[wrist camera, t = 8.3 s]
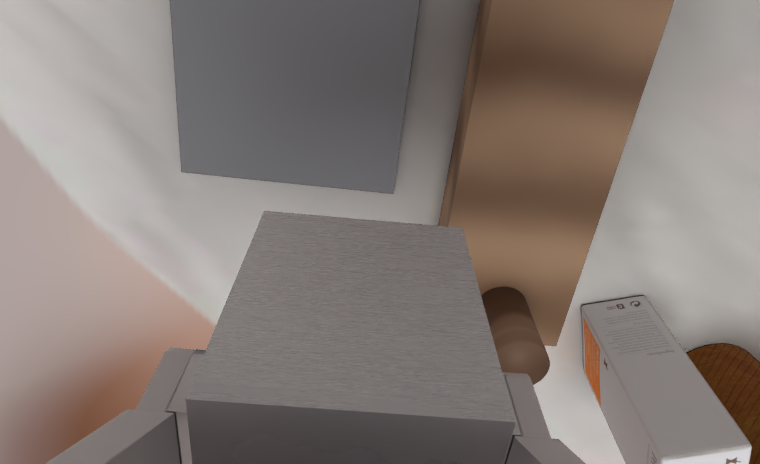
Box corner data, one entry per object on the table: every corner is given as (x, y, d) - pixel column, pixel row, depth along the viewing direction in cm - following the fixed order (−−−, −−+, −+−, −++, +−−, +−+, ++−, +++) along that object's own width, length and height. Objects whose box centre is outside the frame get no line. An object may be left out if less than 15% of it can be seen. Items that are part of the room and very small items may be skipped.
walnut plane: (485, -32, 26) (524, -19, 19) (646, -11, 27) (742, 8, 20) (423, 305, 36) (434, 396, 29) (543, 316, 36) (582, 408, 29)
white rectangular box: (264, 210, 11) (186, 398, 6) (462, 228, 11) (515, 422, 7) (265, 422, 14) (212, 651, 9) (423, 433, 14) (442, 663, 10)
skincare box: (578, 304, 36) (660, 457, 25) (644, 292, 35) (757, 444, 25) (580, 372, 38) (656, 536, 28) (642, 363, 38) (743, 526, 28)
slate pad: (169, -71, 25) (165, -71, 25) (424, -39, 26) (425, -39, 26) (184, 168, 31) (181, 172, 31) (393, 189, 32) (393, 193, 31)
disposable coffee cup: (806, 336, 37) (976, 496, 26) (735, 433, 41) (856, 602, 31) (675, 313, 36) (797, 470, 25) (617, 415, 40) (701, 583, 30)
